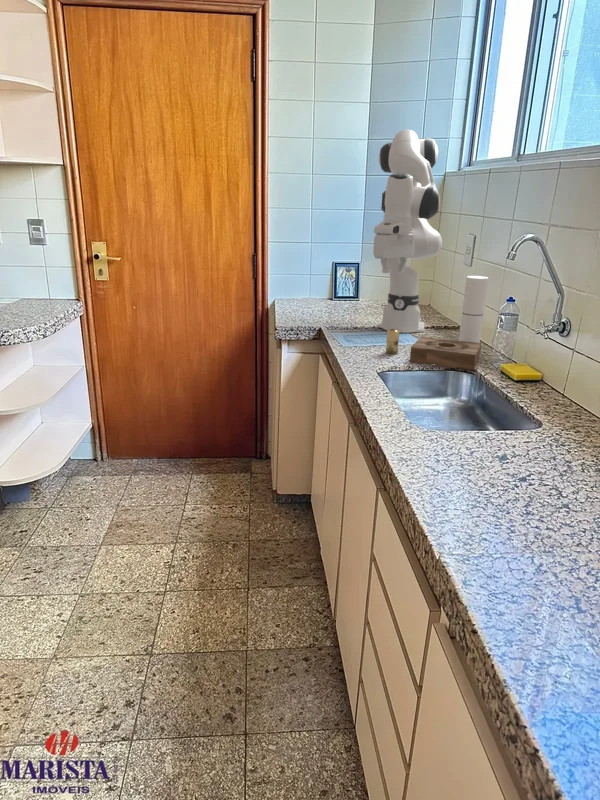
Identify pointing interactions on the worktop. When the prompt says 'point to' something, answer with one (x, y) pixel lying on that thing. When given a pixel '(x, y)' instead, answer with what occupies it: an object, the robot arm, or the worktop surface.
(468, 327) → the cylindrical container
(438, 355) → the block
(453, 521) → the worktop surface
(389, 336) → the bushing
